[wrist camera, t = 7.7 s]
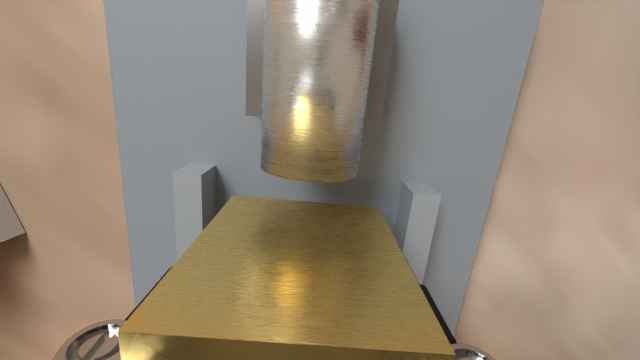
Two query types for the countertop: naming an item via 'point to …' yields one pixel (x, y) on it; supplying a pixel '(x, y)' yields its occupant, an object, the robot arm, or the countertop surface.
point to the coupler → (288, 291)
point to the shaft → (317, 82)
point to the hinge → (8, 219)
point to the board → (377, 143)
